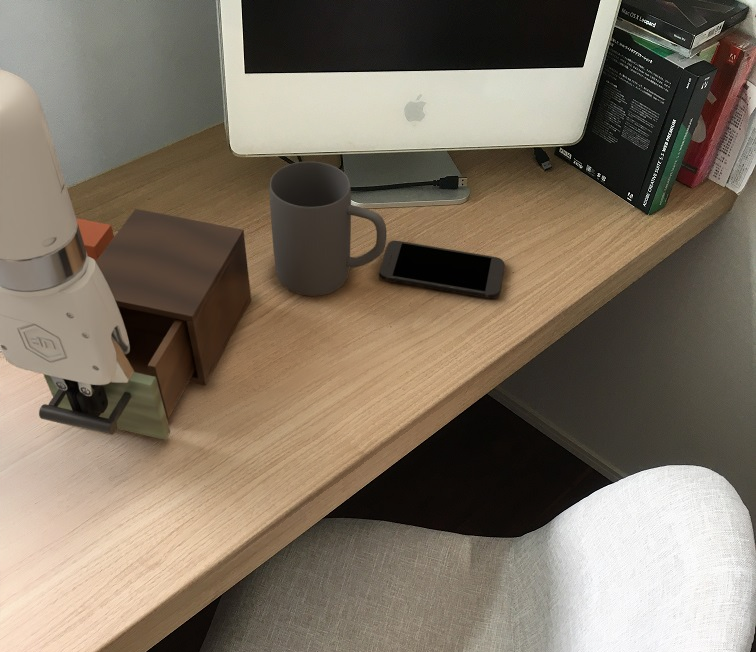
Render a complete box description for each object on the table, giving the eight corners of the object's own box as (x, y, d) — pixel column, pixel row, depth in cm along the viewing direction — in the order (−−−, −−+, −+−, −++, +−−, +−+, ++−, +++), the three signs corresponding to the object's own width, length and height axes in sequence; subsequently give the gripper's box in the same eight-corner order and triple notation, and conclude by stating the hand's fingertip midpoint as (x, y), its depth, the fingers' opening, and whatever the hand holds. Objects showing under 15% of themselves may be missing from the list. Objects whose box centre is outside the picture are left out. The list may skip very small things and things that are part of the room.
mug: (263, 287, 94) (255, 197, 84) (291, 243, 99) (286, 153, 89) (371, 314, 92) (375, 225, 82) (394, 267, 97) (400, 179, 88)
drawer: (145, 477, 76) (128, 424, 69) (36, 451, 77) (10, 397, 71) (214, 350, 86) (205, 293, 80) (118, 329, 88) (101, 272, 81)
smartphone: (498, 300, 94) (500, 294, 94) (376, 280, 96) (377, 274, 95) (505, 263, 99) (506, 257, 98) (388, 244, 100) (388, 238, 99)
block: (69, 271, 94) (59, 239, 91) (86, 249, 97) (76, 217, 93) (103, 278, 94) (94, 246, 90) (119, 255, 96) (111, 224, 93)
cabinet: (205, 385, 84) (192, 316, 77) (97, 361, 86) (73, 291, 78) (251, 299, 93) (243, 229, 85) (151, 279, 94) (135, 208, 86)
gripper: (-85, 261, 58) (0, 424, 73) (102, 300, 57) (150, 459, 72) (-31, 204, 63) (39, 369, 78) (145, 239, 61) (182, 401, 76)
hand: (92, 412), depth 75 cm, fingers closed
